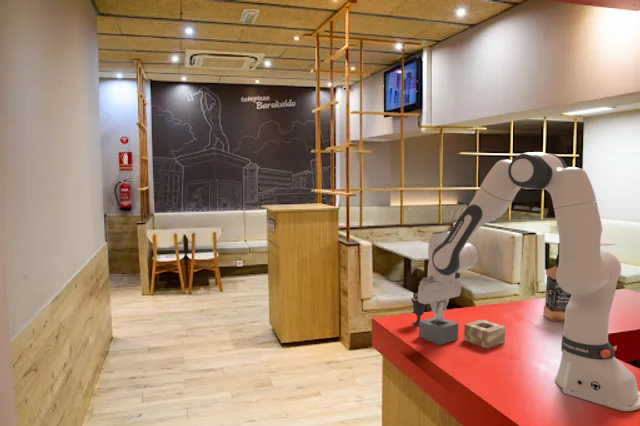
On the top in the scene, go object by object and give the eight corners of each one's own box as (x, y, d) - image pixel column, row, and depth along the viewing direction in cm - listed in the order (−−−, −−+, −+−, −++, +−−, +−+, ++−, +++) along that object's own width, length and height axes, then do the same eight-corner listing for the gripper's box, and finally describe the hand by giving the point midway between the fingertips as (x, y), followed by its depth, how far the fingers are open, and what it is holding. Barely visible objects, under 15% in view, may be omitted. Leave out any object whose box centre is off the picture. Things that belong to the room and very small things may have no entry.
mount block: (504, 342, 173) (505, 326, 172) (487, 348, 167) (488, 332, 166) (480, 334, 181) (481, 319, 180) (464, 340, 175) (464, 324, 174)
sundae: (427, 327, 189) (428, 290, 187) (410, 326, 190) (410, 289, 188) (427, 322, 195) (428, 286, 194) (410, 321, 196) (411, 285, 195)
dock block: (457, 339, 176) (458, 323, 175) (439, 345, 170) (440, 328, 169) (436, 331, 184) (436, 316, 183) (418, 337, 178) (419, 321, 177)
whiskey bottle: (550, 321, 197) (554, 244, 193) (542, 314, 206) (546, 240, 203) (577, 322, 195) (581, 245, 192) (568, 315, 205) (572, 241, 202)
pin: (444, 333, 176) (445, 301, 175) (438, 335, 174) (439, 302, 173) (437, 330, 179) (438, 299, 178) (432, 332, 177) (432, 300, 176)
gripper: (427, 280, 166) (426, 319, 167) (464, 272, 178) (463, 309, 179) (413, 276, 171) (413, 314, 172) (450, 269, 183) (449, 305, 184)
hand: (439, 311), depth 176 cm, fingers closed on pin, 3 cm apart
